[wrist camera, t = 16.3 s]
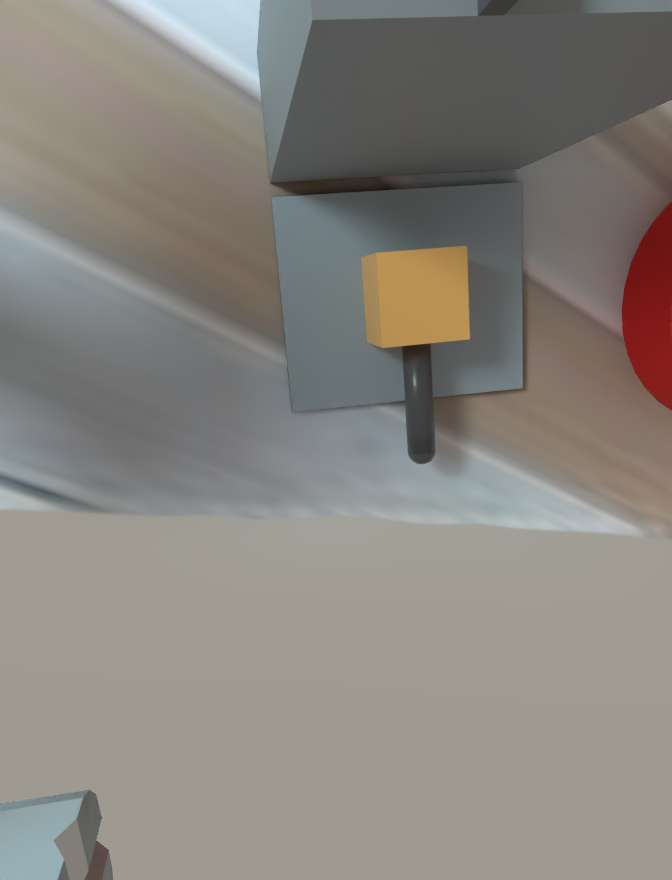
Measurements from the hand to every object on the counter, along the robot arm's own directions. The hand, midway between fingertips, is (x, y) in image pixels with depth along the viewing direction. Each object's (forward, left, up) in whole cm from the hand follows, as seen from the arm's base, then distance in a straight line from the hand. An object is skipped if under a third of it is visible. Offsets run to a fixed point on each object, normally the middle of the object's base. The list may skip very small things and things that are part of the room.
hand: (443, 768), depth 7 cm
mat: (+10, +4, -39) cm, 41 cm away
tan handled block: (+10, 0, -38) cm, 40 cm away
